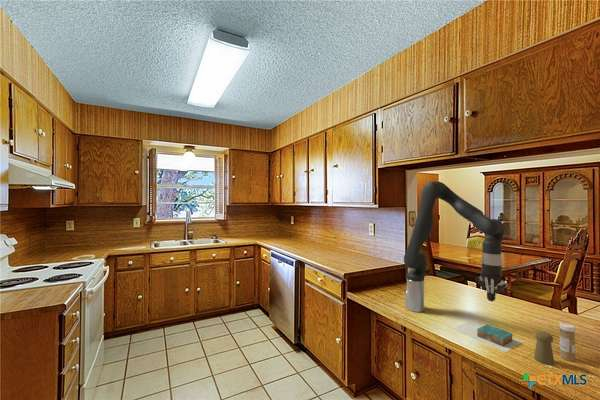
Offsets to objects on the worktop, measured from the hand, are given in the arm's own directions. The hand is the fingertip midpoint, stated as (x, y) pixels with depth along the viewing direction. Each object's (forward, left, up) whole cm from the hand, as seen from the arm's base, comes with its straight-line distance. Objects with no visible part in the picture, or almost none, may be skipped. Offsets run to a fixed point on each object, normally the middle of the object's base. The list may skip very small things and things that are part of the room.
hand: (491, 300), depth 123 cm
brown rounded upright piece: (+19, -1, -17) cm, 26 cm away
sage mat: (-2, 0, -17) cm, 17 cm away
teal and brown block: (-4, 0, -15) cm, 15 cm away
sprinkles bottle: (+23, +9, -17) cm, 30 cm away
